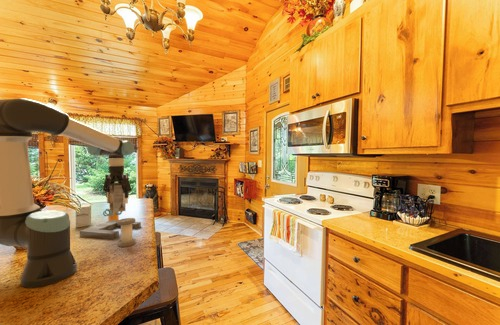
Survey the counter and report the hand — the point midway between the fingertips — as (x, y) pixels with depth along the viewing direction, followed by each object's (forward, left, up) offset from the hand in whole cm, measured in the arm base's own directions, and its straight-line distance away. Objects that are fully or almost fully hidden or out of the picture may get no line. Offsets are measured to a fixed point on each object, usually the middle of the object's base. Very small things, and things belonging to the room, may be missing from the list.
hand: (117, 203), depth 126 cm
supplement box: (+6, +32, -17) cm, 37 cm away
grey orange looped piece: (+17, +20, -17) cm, 31 cm away
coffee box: (0, 0, -5) cm, 5 cm away
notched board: (0, +4, -17) cm, 17 cm away
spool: (-14, -19, -17) cm, 29 cm away
